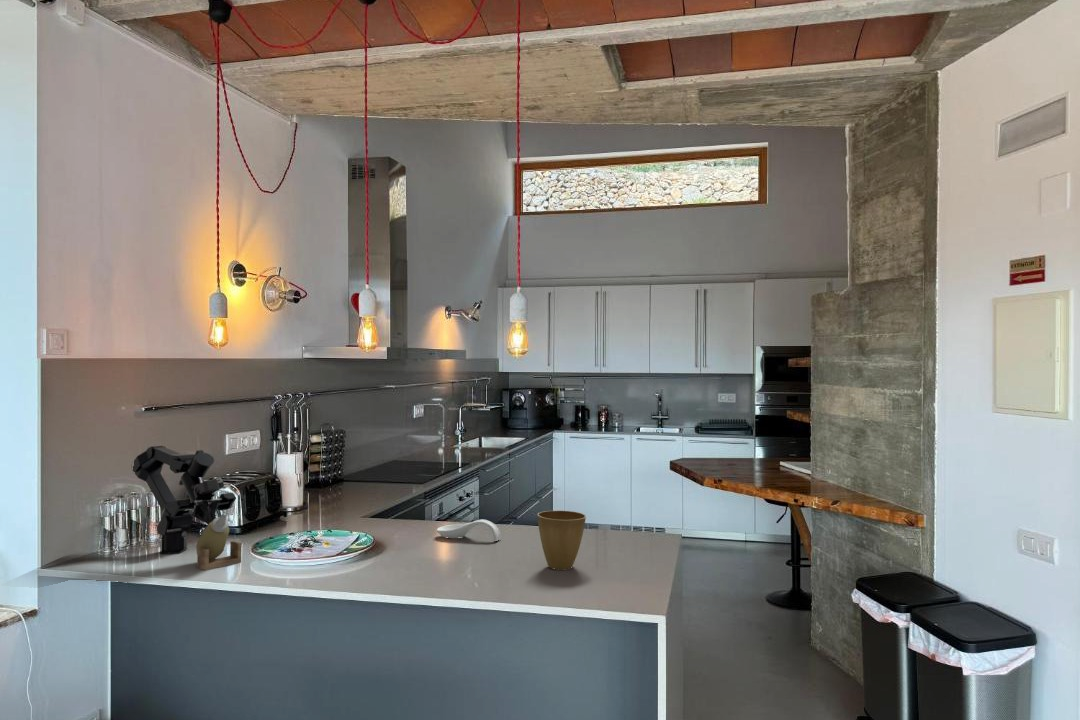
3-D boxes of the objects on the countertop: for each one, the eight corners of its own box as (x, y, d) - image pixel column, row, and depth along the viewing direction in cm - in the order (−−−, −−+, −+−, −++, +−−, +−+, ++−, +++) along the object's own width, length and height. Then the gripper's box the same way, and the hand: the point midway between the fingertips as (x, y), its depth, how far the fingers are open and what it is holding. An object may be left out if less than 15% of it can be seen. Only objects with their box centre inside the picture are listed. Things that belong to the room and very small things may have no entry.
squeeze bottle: (208, 569, 217) (226, 529, 209) (187, 554, 217) (204, 514, 210) (226, 554, 224) (244, 515, 216) (205, 539, 224) (222, 500, 217)
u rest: (197, 567, 213) (197, 547, 213) (233, 559, 223) (233, 540, 223) (205, 570, 211) (205, 549, 211) (241, 562, 220) (241, 542, 220)
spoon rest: (431, 540, 253) (431, 519, 253) (445, 533, 264) (445, 513, 265) (493, 545, 246) (493, 524, 246) (505, 538, 257) (505, 518, 257)
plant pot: (550, 575, 208) (550, 521, 209) (529, 563, 222) (529, 512, 222) (594, 570, 215) (594, 517, 215) (571, 558, 228) (571, 508, 228)
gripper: (175, 473, 215) (194, 514, 208) (233, 467, 230) (252, 505, 223) (162, 496, 219) (180, 537, 212) (219, 489, 234) (238, 527, 228)
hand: (214, 526), depth 219 cm, fingers closed
